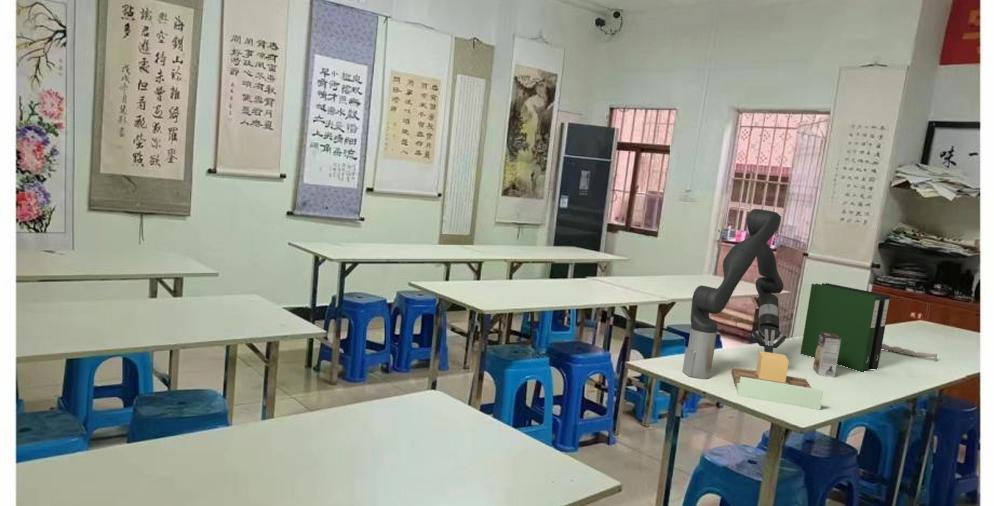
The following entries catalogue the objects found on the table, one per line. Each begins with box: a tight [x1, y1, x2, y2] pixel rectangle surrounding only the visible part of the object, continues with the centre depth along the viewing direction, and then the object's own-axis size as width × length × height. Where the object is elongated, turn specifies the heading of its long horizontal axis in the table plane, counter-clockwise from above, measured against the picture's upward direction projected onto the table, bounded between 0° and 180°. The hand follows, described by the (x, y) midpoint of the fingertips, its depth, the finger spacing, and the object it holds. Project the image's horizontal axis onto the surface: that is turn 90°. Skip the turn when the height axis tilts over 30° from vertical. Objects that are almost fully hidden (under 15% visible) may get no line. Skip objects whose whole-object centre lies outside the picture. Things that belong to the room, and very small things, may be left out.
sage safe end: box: [735, 377, 824, 410], centre depth 225 cm, size 7×26×6 cm, turn 75°
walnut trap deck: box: [730, 366, 812, 388], centre depth 236 cm, size 27×26×2 cm
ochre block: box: [755, 350, 790, 382], centre depth 243 cm, size 9×9×8 cm
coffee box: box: [812, 332, 841, 378], centre depth 265 cm, size 9×6×16 cm
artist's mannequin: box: [881, 343, 938, 362], centre depth 317 cm, size 28×4×30 cm
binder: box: [800, 282, 892, 373], centre depth 287 cm, size 27×15×32 cm, turn 36°
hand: (768, 355), depth 253 cm, fingers closed
